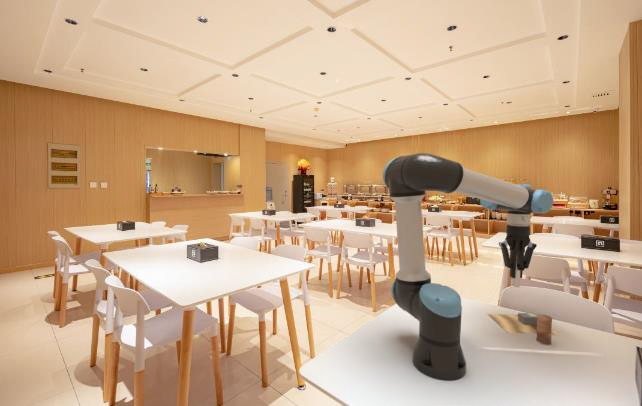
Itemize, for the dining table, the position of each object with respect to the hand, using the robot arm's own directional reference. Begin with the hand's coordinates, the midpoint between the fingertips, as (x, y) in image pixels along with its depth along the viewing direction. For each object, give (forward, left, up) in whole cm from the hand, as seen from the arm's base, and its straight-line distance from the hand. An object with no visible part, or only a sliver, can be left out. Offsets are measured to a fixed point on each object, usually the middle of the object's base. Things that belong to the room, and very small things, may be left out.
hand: (515, 286), depth 116 cm
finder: (+6, +2, -15) cm, 16 cm away
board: (+3, +1, -16) cm, 16 cm away
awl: (+3, -13, -16) cm, 21 cm away
